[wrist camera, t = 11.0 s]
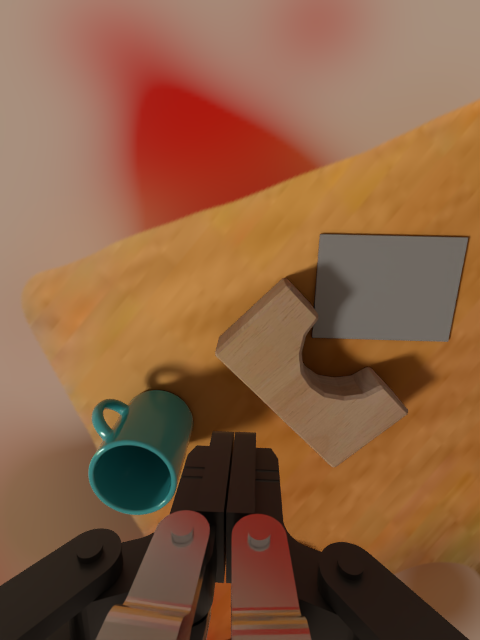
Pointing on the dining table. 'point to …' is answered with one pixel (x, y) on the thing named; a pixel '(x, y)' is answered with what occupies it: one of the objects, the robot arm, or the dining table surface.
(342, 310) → the mat
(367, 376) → the decorative block
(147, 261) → the dining table surface
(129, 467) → the cup
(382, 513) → the dining table surface
